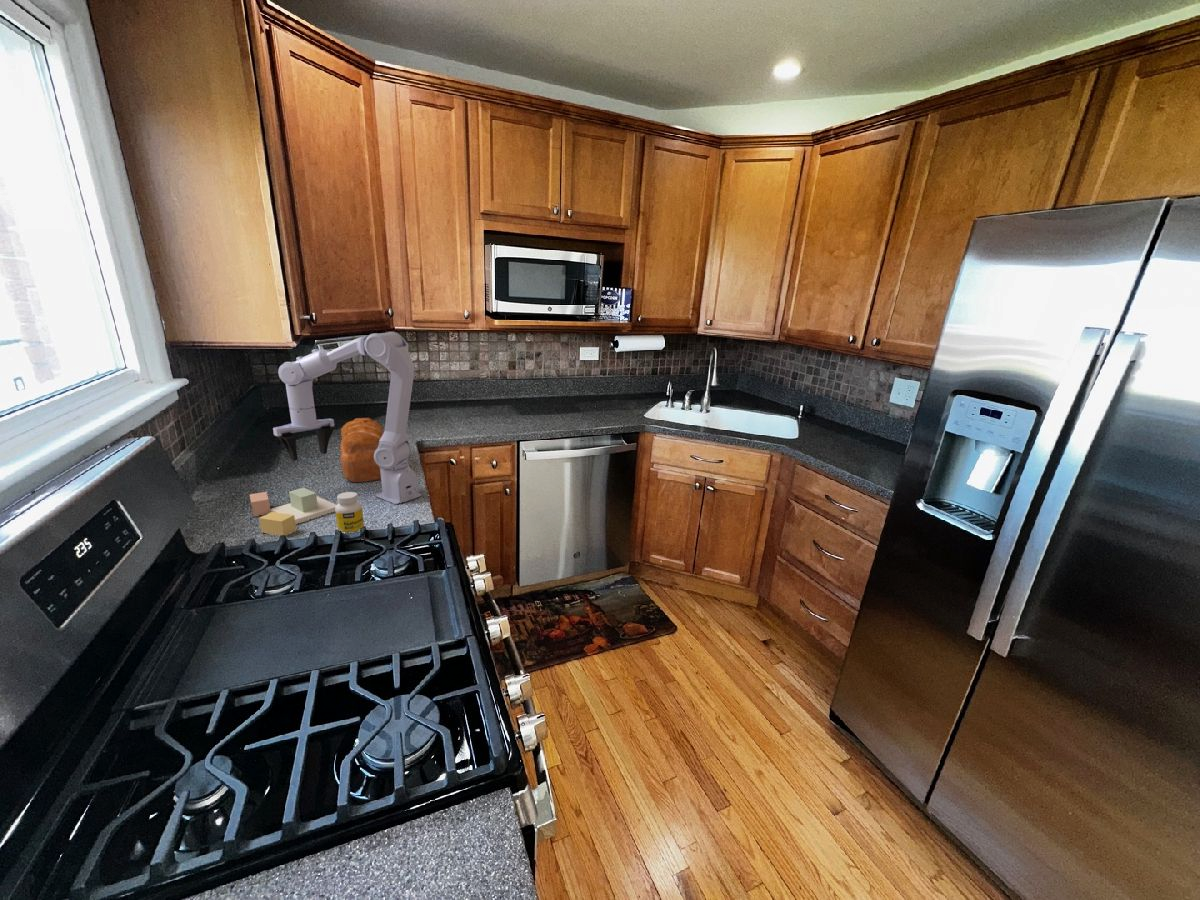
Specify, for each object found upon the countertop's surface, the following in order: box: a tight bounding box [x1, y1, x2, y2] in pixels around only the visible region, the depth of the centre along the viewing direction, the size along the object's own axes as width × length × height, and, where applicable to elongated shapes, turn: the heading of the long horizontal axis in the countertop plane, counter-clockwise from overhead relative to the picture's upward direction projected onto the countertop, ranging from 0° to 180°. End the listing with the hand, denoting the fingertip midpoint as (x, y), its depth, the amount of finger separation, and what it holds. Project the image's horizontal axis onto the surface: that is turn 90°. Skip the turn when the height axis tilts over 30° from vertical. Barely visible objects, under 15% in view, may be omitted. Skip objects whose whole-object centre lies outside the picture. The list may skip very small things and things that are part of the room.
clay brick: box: [249, 491, 271, 517], centre depth 118 cm, size 6×4×4 cm, turn 38°
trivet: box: [270, 495, 337, 525], centre depth 119 cm, size 11×11×1 cm
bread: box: [340, 417, 384, 483], centre depth 149 cm, size 14×26×16 cm, turn 29°
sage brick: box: [288, 487, 318, 513], centre depth 118 cm, size 6×4×4 cm, turn 57°
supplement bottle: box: [334, 491, 365, 533], centre depth 107 cm, size 5×5×10 cm
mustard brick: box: [258, 512, 297, 536], centre depth 108 cm, size 6×4×4 cm, turn 78°
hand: (309, 456), depth 128 cm, fingers open, 7 cm apart
